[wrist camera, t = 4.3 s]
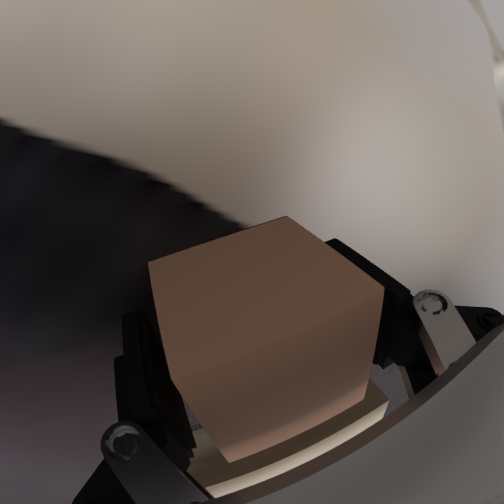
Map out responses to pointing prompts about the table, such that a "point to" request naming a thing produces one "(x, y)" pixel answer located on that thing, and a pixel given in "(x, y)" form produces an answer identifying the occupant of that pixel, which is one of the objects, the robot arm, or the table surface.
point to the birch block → (282, 448)
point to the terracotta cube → (265, 333)
